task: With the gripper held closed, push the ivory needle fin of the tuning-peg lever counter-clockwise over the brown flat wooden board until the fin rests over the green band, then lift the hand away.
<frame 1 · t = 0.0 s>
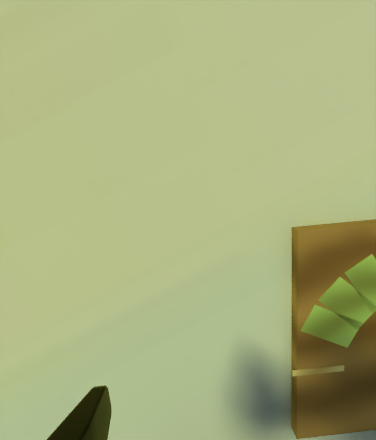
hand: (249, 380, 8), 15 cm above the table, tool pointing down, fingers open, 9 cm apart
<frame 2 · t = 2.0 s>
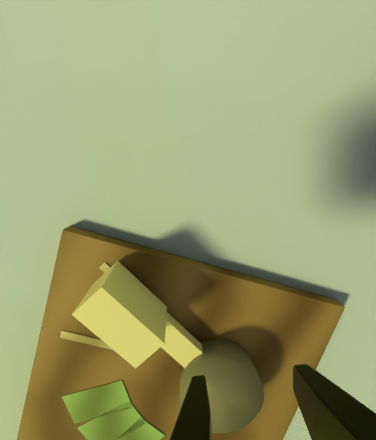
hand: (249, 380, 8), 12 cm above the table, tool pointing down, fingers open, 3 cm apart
brown flat wooden board: (173, 370, 22), on the table
peg lever: (178, 356, 18), point 4 cm above the table, hinge at 0.0°
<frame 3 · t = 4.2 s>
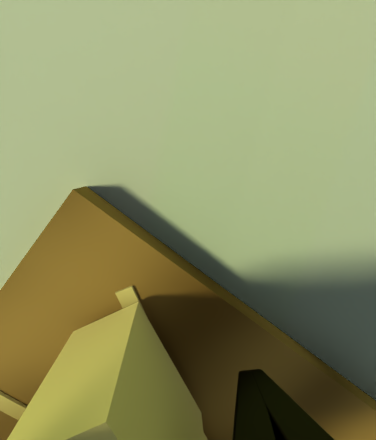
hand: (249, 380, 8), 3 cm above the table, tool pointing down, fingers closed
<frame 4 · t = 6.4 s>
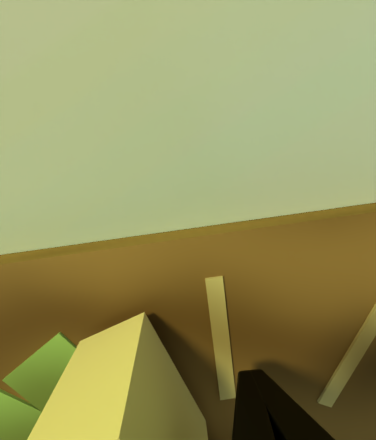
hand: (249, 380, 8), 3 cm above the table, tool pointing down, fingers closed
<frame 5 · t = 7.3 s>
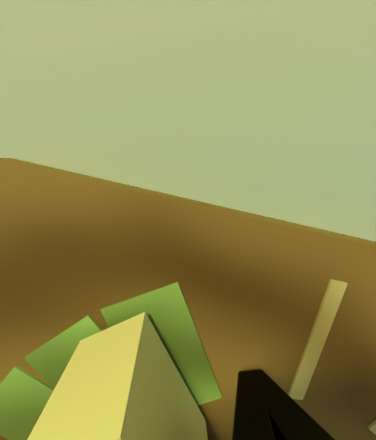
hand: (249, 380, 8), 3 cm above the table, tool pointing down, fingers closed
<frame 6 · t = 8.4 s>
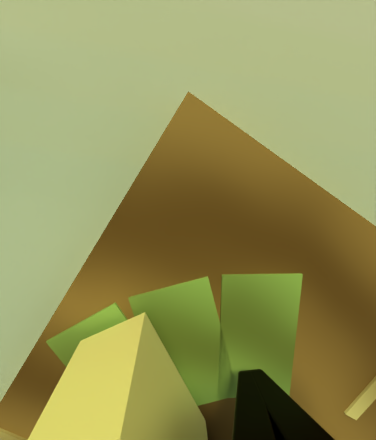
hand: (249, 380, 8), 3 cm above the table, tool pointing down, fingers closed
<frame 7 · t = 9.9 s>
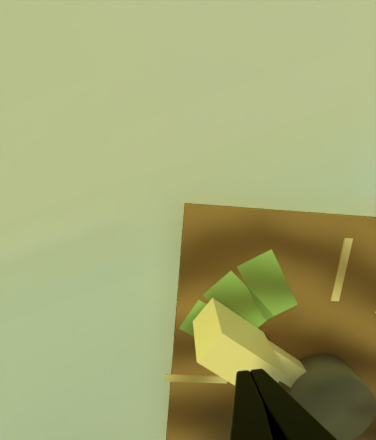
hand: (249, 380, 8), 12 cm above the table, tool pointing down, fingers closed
brown flat wooden board: (292, 340, 22), on the table
peg lever: (288, 379, 18), point 4 cm above the table, hinge at 87.6°
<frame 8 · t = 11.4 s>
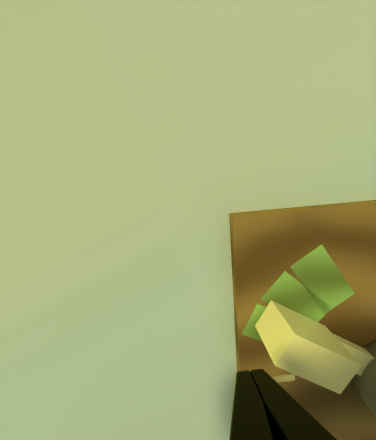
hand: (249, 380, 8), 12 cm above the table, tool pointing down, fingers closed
brown flat wooden board: (351, 328, 22), on the table
peg lever: (359, 369, 18), point 4 cm above the table, hinge at 87.6°
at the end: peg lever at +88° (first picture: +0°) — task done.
